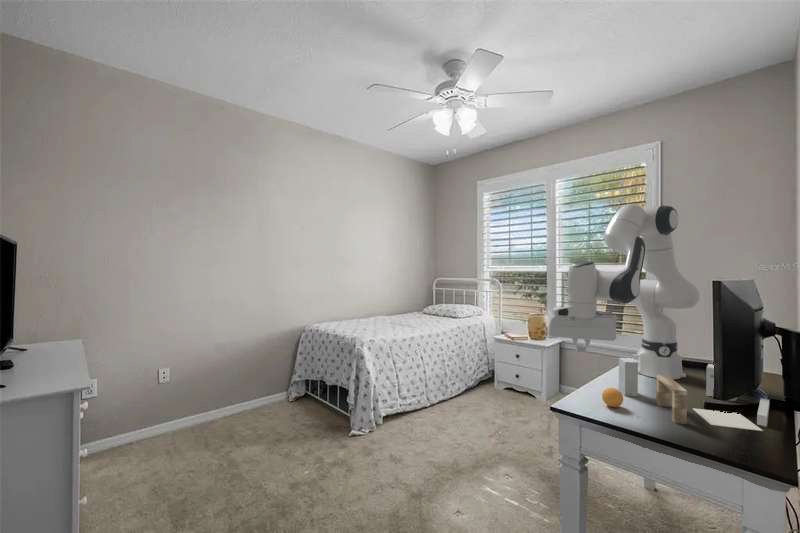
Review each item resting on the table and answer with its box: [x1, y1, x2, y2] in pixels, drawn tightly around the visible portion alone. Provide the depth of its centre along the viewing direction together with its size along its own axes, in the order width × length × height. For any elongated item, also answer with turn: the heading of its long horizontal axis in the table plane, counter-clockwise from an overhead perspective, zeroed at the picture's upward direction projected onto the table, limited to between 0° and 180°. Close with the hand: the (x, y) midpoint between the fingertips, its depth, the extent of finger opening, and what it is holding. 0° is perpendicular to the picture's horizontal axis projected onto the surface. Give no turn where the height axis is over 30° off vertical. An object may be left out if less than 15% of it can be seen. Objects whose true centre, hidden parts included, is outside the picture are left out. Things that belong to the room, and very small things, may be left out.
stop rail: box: [756, 397, 770, 428], centre depth 112 cm, size 18×2×3 cm, turn 133°
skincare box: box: [618, 357, 639, 397], centre depth 131 cm, size 6×4×12 cm
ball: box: [601, 387, 624, 408], centre depth 119 cm, size 6×6×6 cm
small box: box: [705, 363, 715, 397], centre depth 127 cm, size 8×6×10 cm
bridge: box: [655, 374, 688, 425], centre depth 114 cm, size 3×15×10 cm, turn 162°
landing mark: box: [692, 407, 764, 432], centre depth 110 cm, size 12×12×1 cm
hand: (580, 351), depth 122 cm, fingers closed
